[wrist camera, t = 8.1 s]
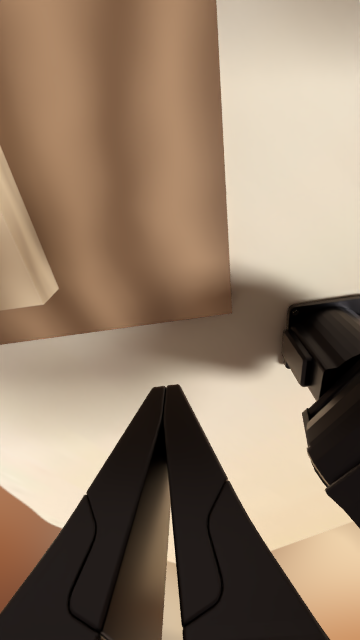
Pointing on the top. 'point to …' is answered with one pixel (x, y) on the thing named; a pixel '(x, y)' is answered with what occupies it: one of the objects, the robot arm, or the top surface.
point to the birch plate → (20, 251)
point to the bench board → (117, 160)
